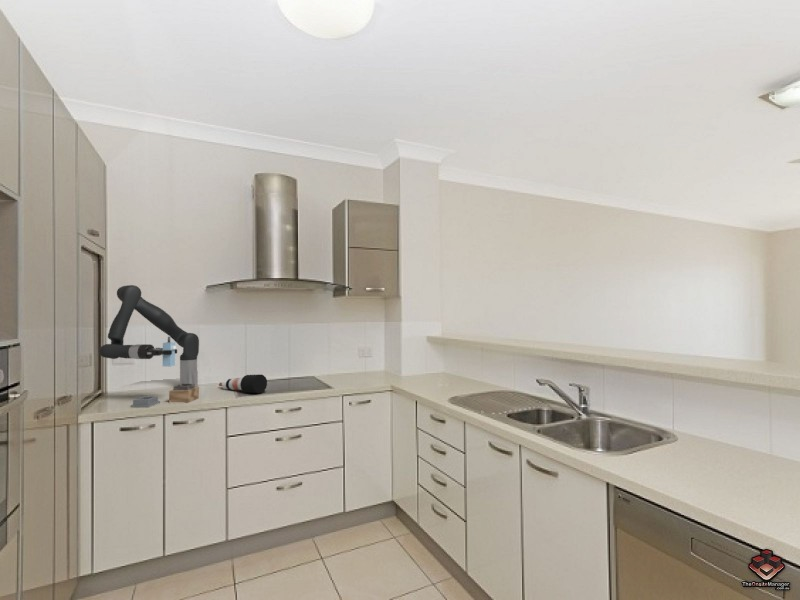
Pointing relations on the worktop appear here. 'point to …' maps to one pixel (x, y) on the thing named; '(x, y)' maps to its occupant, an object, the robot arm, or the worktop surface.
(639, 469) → the worktop surface
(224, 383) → the black and white bottle
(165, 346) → the plug
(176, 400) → the upper stand
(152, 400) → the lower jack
